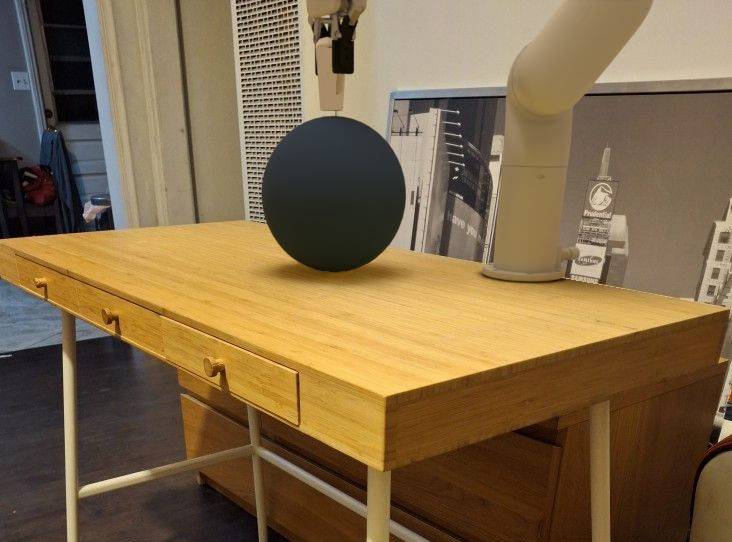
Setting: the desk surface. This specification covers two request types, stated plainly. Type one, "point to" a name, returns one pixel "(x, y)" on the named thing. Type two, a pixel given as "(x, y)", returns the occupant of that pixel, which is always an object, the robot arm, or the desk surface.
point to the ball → (333, 194)
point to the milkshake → (328, 78)
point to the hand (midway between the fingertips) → (334, 73)
